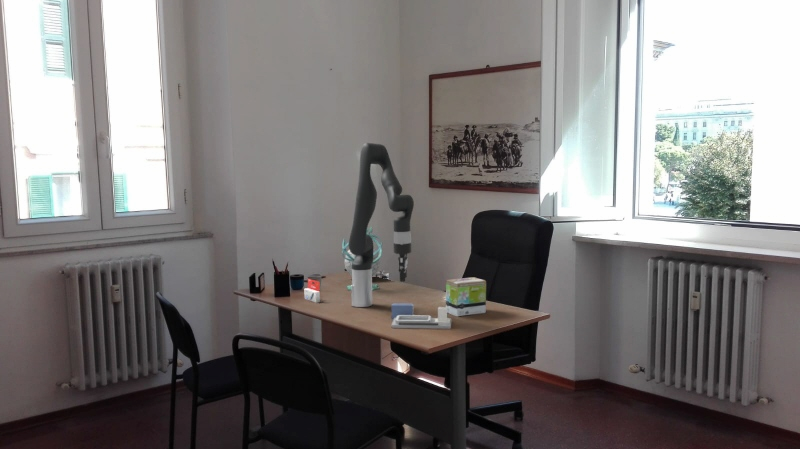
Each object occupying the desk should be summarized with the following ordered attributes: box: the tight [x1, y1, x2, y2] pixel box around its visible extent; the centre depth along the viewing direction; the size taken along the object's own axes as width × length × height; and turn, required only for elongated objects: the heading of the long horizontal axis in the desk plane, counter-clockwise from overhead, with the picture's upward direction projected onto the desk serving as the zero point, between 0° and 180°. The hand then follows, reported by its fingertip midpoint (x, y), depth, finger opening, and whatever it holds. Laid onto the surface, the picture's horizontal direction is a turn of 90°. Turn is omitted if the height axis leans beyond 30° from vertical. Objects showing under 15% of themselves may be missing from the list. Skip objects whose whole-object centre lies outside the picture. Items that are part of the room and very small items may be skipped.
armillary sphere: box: [341, 226, 383, 292], centre depth 343 cm, size 22×26×35 cm
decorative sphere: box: [344, 247, 381, 277], centre depth 368 cm, size 20×20×20 cm
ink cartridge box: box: [303, 278, 321, 303], centre depth 317 cm, size 2×11×10 cm, turn 39°
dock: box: [390, 306, 452, 330], centre depth 270 cm, size 24×12×7 cm, turn 84°
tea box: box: [445, 277, 487, 317], centre depth 288 cm, size 15×10×15 cm, turn 117°
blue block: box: [391, 302, 414, 320], centre depth 281 cm, size 9×4×6 cm, turn 84°
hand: (403, 279), depth 280 cm, fingers open, 8 cm apart
